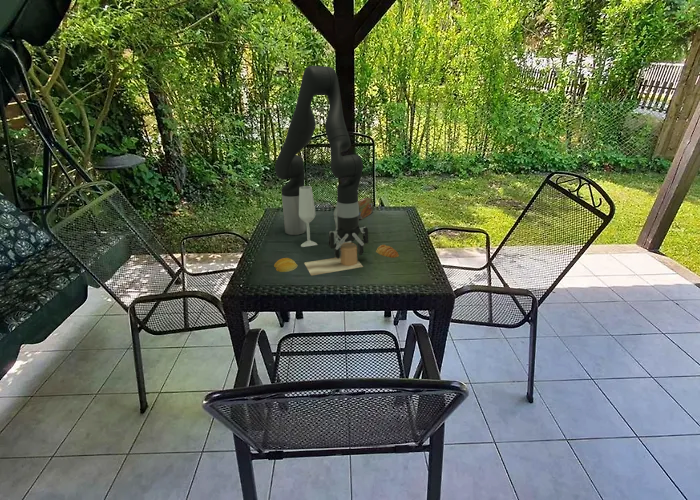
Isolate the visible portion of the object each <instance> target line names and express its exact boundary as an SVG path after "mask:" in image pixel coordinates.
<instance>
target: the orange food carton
mask: <svg viewBox="0 0 700 500" xmlns="http://www.w3.org/2000/svg"><path fill="white" fill-rule="evenodd" d="M358 205H359V220H363V219H365V218H367V217H368V216H370V215H371V214H372V213H373V210H374V200H373V198H371V197H364V198H362V199H360V200H358Z"/></svg>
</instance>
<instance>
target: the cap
mask: <svg viewBox="0 0 700 500" xmlns="http://www.w3.org/2000/svg"><path fill="white" fill-rule="evenodd" d="M339 255H340V257H341V263H342V264H343V265H346V266H351V265H355V264H357V260H358V244H356V243H354V242H351V243H343V244H342V245H341V247H339Z"/></svg>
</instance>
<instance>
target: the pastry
mask: <svg viewBox="0 0 700 500" xmlns="http://www.w3.org/2000/svg"><path fill="white" fill-rule="evenodd" d="M375 253H377V254H378V255H380V256H383V257H387V258H392V259H395V258H399V256H400V254H399V253H398V251H397V250H396V249H395V248H393V247H392V246H390V245H386V244H381V245H379V246H378V247H377V248H376V250H375Z"/></svg>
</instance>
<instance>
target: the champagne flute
mask: <svg viewBox="0 0 700 500" xmlns="http://www.w3.org/2000/svg"><path fill="white" fill-rule="evenodd" d="M299 217H300V218H301V220H303V221H304V222H305V224H306V239H307V240H306V241H304V242H302V244H300V247H301V248H304V247H311V246H318V243H317V242H315V241H313V240H311V232H310V231H311V229H310V223H312V221H313V220H314V219H315V217H316V208H315V201H314V194H313V189H312V186H309V185H304V186H302V187H300V188H299Z"/></svg>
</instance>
